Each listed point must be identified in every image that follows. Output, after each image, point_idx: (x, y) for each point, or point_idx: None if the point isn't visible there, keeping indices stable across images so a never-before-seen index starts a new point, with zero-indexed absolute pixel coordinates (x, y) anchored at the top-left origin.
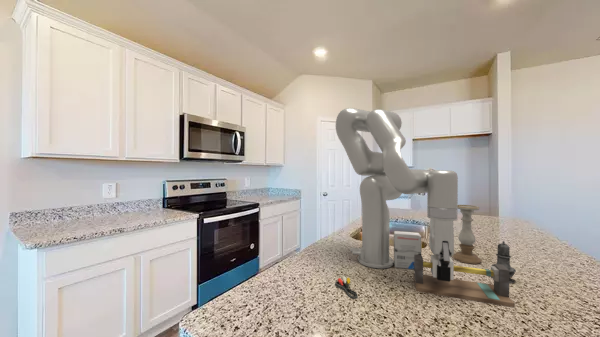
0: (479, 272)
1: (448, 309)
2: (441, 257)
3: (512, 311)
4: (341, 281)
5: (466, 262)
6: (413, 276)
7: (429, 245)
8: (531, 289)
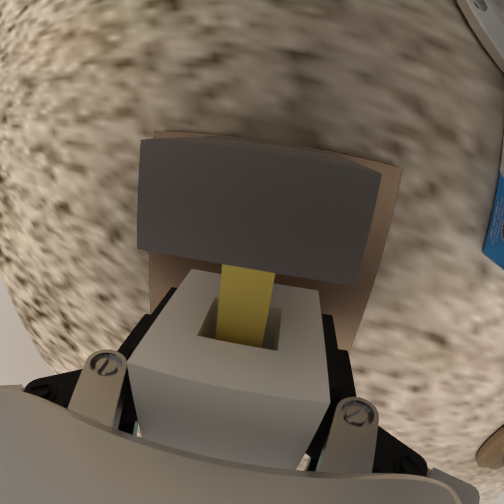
0: None
1: (56, 243)
2: (234, 450)
3: None
4: None
5: (492, 437)
6: (387, 164)
7: (382, 496)
8: None
